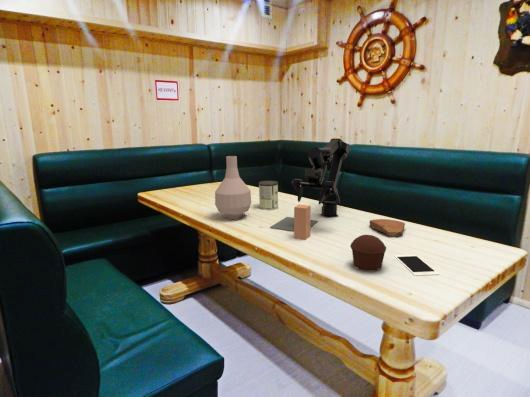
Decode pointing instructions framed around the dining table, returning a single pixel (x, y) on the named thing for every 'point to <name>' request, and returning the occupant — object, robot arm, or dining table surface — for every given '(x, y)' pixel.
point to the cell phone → (416, 265)
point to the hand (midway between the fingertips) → (308, 202)
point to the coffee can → (268, 195)
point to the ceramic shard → (388, 226)
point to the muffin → (368, 252)
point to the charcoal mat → (289, 224)
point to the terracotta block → (302, 221)
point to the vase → (232, 192)
